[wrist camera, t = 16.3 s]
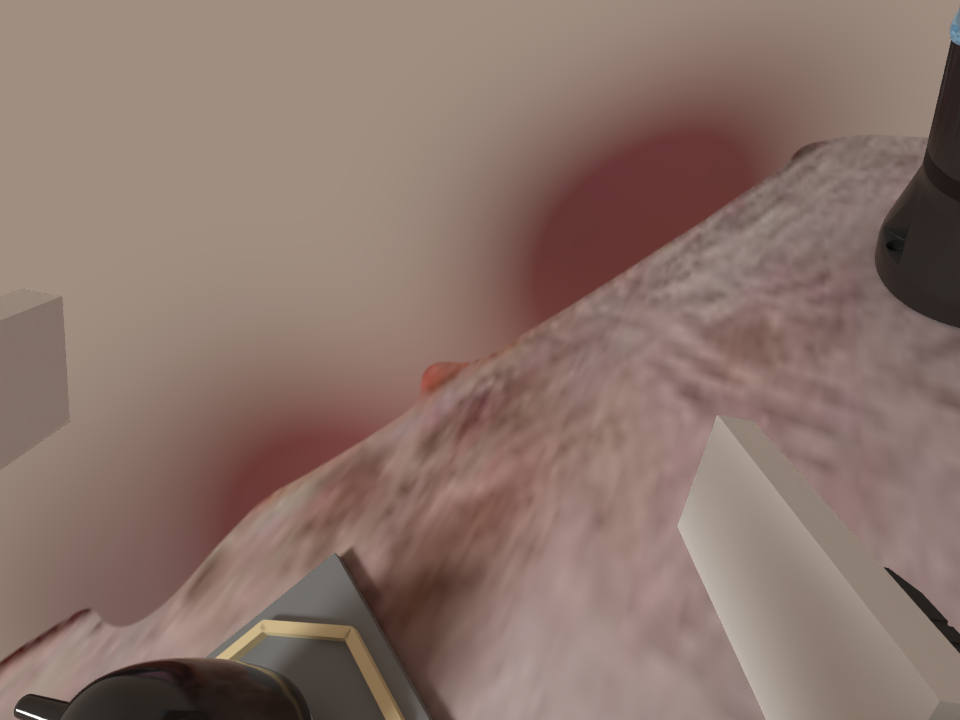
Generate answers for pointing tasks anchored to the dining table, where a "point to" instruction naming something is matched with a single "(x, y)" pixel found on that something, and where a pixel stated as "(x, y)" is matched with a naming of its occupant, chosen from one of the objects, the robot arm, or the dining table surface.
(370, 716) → the dock plate
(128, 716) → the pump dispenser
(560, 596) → the dining table surface
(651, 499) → the dining table surface
